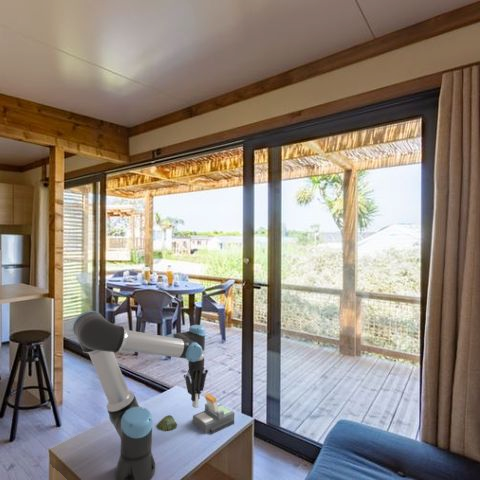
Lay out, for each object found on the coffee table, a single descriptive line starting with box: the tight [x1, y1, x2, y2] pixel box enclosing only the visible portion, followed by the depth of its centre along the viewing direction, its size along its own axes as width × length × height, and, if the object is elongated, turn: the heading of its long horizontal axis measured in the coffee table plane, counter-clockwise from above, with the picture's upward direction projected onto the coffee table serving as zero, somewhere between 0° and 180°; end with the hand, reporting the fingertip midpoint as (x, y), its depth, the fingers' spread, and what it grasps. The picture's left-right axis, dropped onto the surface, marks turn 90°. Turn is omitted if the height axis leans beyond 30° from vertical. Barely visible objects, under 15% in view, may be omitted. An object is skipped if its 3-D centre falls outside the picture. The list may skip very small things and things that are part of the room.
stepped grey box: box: [192, 403, 235, 434], centre depth 169 cm, size 18×12×7 cm, turn 133°
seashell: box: [156, 414, 178, 432], centre depth 164 cm, size 10×4×10 cm
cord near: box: [209, 419, 235, 435], centre depth 164 cm, size 14×2×2 cm, turn 133°
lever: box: [204, 392, 220, 415], centre depth 168 cm, size 2×8×9 cm, turn 42°
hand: (195, 406), depth 161 cm, fingers closed
